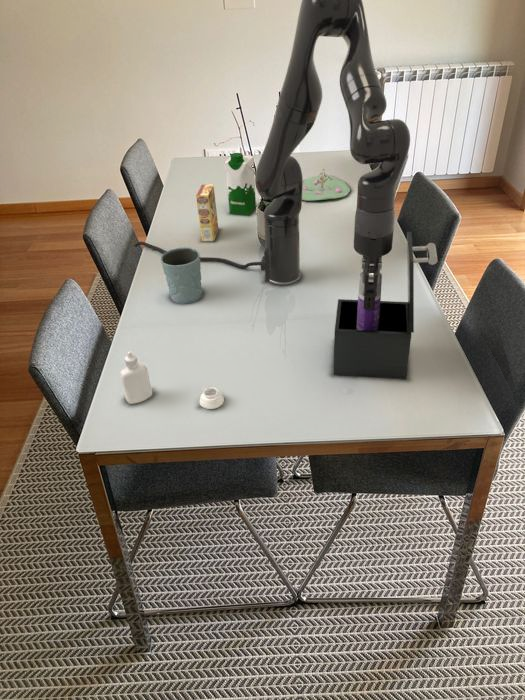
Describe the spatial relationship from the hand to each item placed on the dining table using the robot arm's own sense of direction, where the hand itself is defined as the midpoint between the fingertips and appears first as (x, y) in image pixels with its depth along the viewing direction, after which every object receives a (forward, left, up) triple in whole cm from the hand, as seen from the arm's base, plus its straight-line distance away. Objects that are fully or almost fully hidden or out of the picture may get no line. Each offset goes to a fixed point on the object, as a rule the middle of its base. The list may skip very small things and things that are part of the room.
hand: (369, 301), depth 126 cm
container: (0, 0, -9) cm, 9 cm away
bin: (+1, 0, -15) cm, 15 cm away
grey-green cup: (-48, +24, -16) cm, 56 cm away
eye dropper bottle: (-47, -18, -16) cm, 53 cm away
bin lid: (+8, 0, +5) cm, 9 cm away
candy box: (-50, +61, -16) cm, 81 cm away
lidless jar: (-31, -18, -16) cm, 40 cm away
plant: (-18, +101, -16) cm, 104 cm away
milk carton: (-43, +81, -16) cm, 93 cm away
